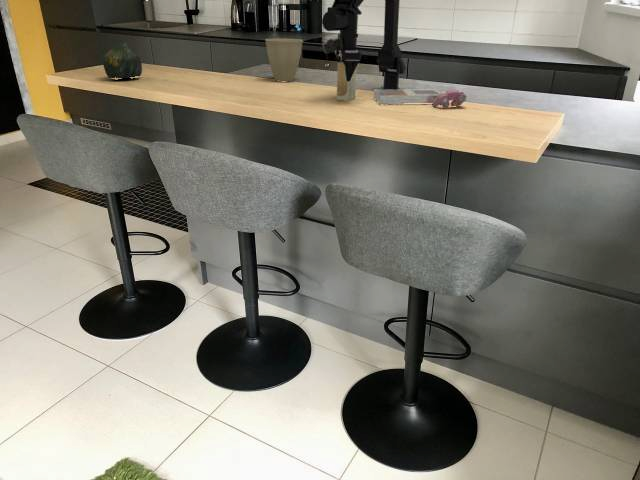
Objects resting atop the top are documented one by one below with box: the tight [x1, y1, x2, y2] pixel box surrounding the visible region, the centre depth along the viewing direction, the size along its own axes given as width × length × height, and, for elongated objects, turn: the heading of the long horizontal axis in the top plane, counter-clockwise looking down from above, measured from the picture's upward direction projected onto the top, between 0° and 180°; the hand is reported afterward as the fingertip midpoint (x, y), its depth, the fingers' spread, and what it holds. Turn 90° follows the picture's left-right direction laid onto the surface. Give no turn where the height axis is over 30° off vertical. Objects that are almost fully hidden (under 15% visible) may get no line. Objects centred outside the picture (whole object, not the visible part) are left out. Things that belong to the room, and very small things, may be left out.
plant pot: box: [264, 38, 304, 82], centre depth 208 cm, size 15×15×16 cm
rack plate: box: [373, 88, 442, 105], centre depth 174 cm, size 12×22×3 cm, turn 95°
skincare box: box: [336, 61, 357, 102], centre depth 174 cm, size 6×4×12 cm
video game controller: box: [432, 89, 467, 108], centre depth 165 cm, size 10×5×7 cm, turn 106°
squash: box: [102, 41, 143, 79], centre depth 206 cm, size 14×15×15 cm
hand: (346, 79), depth 174 cm, fingers closed on skincare box, 7 cm apart
